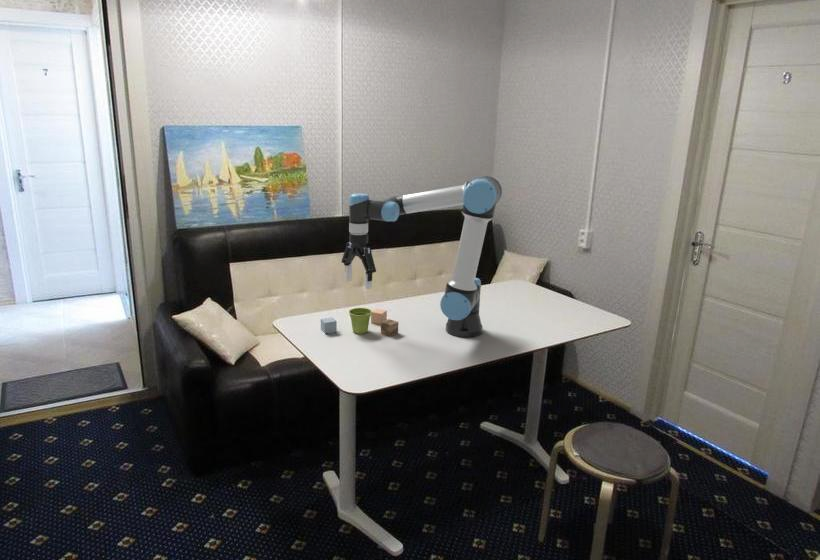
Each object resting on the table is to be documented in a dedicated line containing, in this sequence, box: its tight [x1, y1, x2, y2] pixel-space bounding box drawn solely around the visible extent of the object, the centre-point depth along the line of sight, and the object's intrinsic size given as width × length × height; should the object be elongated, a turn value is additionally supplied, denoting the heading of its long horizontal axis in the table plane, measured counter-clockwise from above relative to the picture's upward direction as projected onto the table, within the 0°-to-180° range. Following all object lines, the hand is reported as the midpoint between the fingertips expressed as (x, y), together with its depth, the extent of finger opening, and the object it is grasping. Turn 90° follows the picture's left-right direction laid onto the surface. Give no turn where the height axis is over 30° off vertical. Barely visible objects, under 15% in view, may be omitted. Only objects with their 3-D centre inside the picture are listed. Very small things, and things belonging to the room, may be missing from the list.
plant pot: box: [348, 307, 373, 335], centre depth 237 cm, size 9×9×9 cm
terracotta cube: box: [370, 308, 388, 326], centre depth 249 cm, size 5×5×5 cm
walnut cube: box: [380, 318, 399, 337], centre depth 236 cm, size 5×5×5 cm
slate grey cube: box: [320, 317, 338, 335], centre depth 237 cm, size 5×5×5 cm
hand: (358, 284), depth 237 cm, fingers open, 13 cm apart
